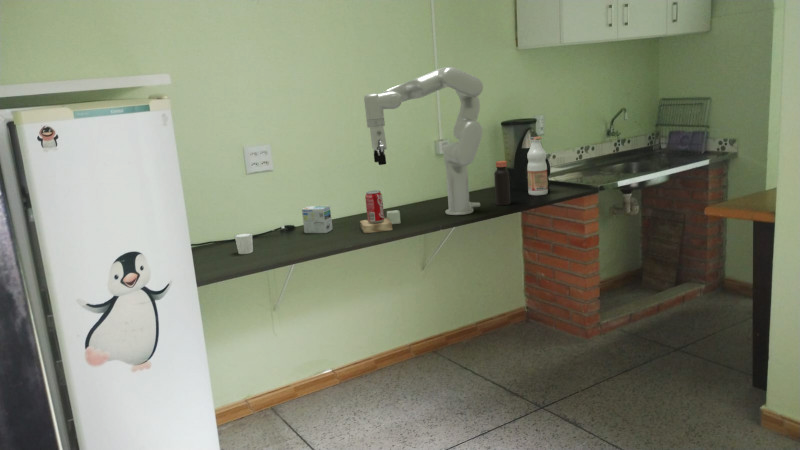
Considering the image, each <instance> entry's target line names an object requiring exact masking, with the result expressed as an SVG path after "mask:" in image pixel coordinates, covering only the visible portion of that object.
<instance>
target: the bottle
mask: <svg viewBox="0 0 800 450" xmlns="http://www.w3.org/2000/svg"><path fill="white" fill-rule="evenodd" d="M507 164H508V162H507V161H506V160H501V161H500V160H498V161H496V162H495V168H496V170H495V172H494V192H495V205H497V206H499V207H501V206H508V205H511V183H510V172H509V170H508V169H507V166H508V165H507Z"/></svg>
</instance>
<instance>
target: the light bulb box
mask: <svg viewBox="0 0 800 450" xmlns="http://www.w3.org/2000/svg"><path fill="white" fill-rule="evenodd" d="M301 213H302V221H303V222H302V223H303V229H304V230H303V231H304V232H303V233H304V234H327V233H329V232H331V231H332V230H333V221H332V212H331V205H309V206H308V205H307V206H306V207H303V208H301Z"/></svg>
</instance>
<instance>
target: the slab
mask: <svg viewBox="0 0 800 450" xmlns="http://www.w3.org/2000/svg"><path fill="white" fill-rule="evenodd" d="M359 224H360V225H359V226H360V229H361V231H362V233H363V234H369V233H378V232H379V233H380V232H387V231H393V224H392V223H391V221H390V220H389V219H388V218H387V217H384V221H383V222H381V223H369V222H368V219H362V220H360V221H359Z"/></svg>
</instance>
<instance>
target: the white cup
mask: <svg viewBox="0 0 800 450" xmlns="http://www.w3.org/2000/svg"><path fill="white" fill-rule="evenodd" d="M234 239H235V243H236V248H237V252H238V255H247V254H251V253H253V252H254V246H253V243H254V242H253V241H254V240H253V233H251V232H244V233H238V234H236V235H234Z"/></svg>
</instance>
